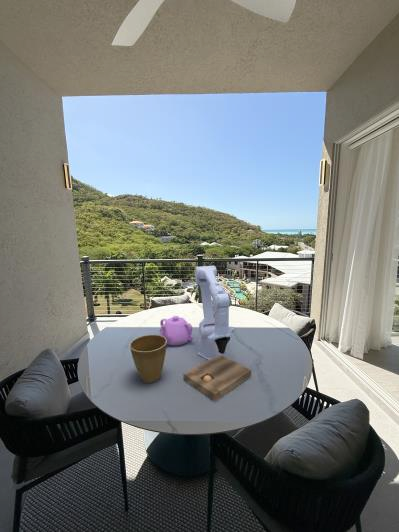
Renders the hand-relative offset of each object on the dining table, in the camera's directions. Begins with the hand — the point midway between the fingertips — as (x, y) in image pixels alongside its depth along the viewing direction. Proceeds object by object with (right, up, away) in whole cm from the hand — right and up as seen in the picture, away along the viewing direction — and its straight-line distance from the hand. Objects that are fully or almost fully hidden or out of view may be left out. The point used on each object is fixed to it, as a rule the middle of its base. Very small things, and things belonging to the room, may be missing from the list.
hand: (221, 352), depth 106 cm
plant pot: (-30, -11, +1) cm, 32 cm away
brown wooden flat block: (-2, -11, 0) cm, 11 cm away
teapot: (-23, -6, +33) cm, 40 cm away
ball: (-6, -10, -4) cm, 12 cm away
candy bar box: (0, -1, +55) cm, 55 cm away
